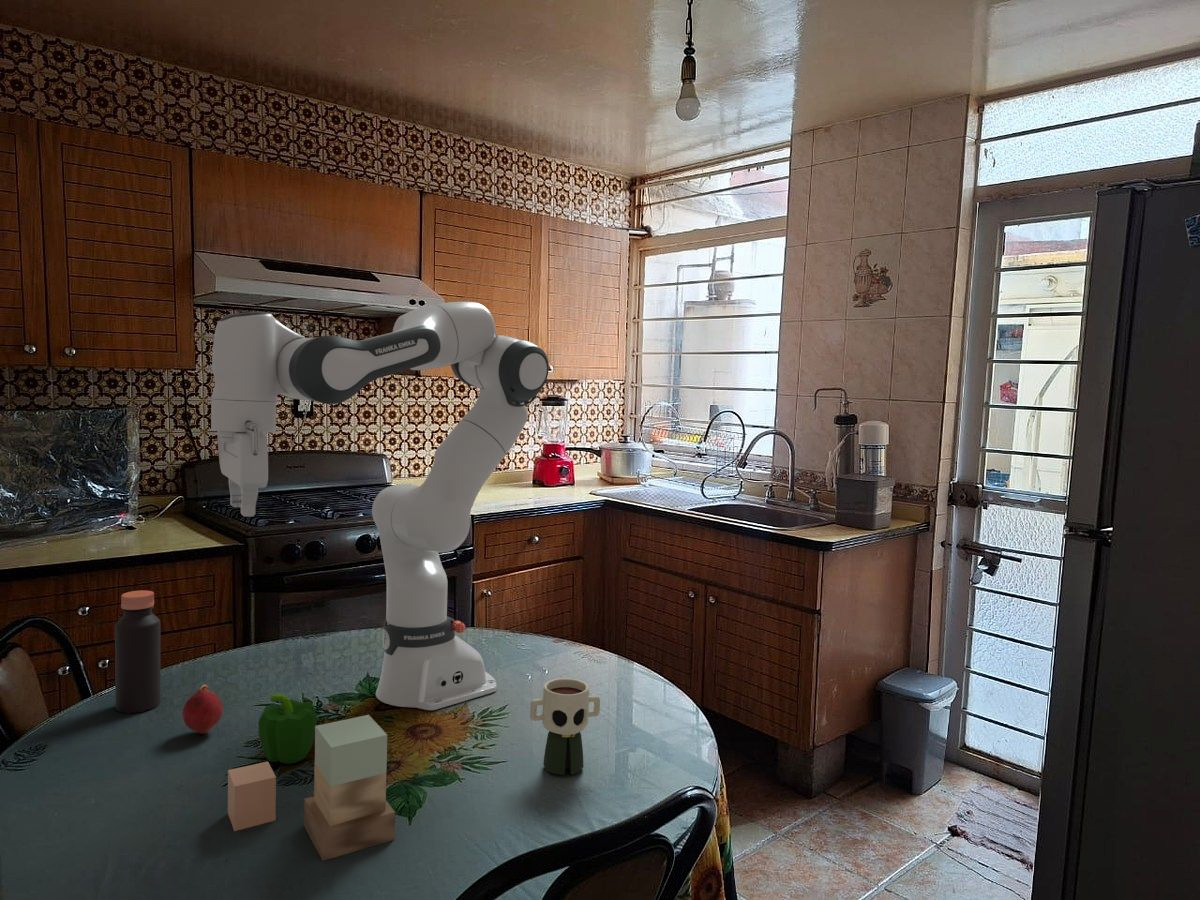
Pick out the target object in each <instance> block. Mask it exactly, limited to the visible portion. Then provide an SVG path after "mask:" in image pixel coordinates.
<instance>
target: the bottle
mask: <svg viewBox="0 0 1200 900" xmlns="http://www.w3.org/2000/svg"><path fill="white" fill-rule="evenodd" d="M120 599H121V602H120V603H121V604H120V608H121V611H122V612H123V615H122V616H121V618H119V619H118V621H116V622H115V625H114V626H115V627H114V633H115V634H114V652H115V653H114V654H115V655H114V656H115V659H114V665H115V667H114V669H115V671H114V672H115V674H114V675H115V679H114V680H115V681H114V682H115V687H114V688H115V710H117V711H118V712H120V713H123V714H136V713H142V712H146V711H149V710H152V709H155V708H156V707H158V706H159V705H160V703H161V698H162V697H161V694H162V693H161V690H162V689H161V687H162V686H161V683H162V682H161V678H162V677H161V619H160V618H159V617H158V616H157V615H156V614H154V613H153V609H154V605H155V592H154V591H152V590H142V589H141V590H132V591H128V592H125V593H122V594H121V596H120Z"/></svg>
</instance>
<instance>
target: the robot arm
mask: <svg viewBox="0 0 1200 900" xmlns="http://www.w3.org/2000/svg"><path fill="white" fill-rule="evenodd" d="M393 325H394V326H393V328H392V332H389V333H384V334H381V335H380V334H379V335H377V336H371V337H369V338H364V339H361V340H360V339H359V340H355V339H351V338H346V337H342V336H338V335H323V336H317V337H305V336H304V335H302V334H299V333H297V332H295V331H294V330H291V329H290V328H288V327H287V326H285V325H284V324H282V323H281V322H280V321H279V320H277V319H276V318H275V317H274V316H273V314H272V313H271V312H266V311H246V312H236V313H229V314H227V315H224V316H223V317H221V318H220V319H219V320H218V322H217V324H216V327H215V330H214V331H215V332H214V338H213V345H212V358H211V360H212V361H211V362H212V363H211V370H212V374H213V378H214V387H213V391H212V394H211V409H210V411H211V412H210V413H211V417H210V419H211V421H210V426H211V427H210V430H211V431H214V432H217V434H216V436H217V451H218V459H219V460H218V461H219V467H220V472H221V474H222V475H223V476H225V477H227V478H228V488H229V493H230V503H229V505H230V506H231V507H233V508H240V514H241V515H242V516H243V517H249V518H250V517H254V516H255V515H256V506H257V500H258V497H259V496H258V495H259V489H265V488H267V486H268V482H269V449H268V439H267V435H268V434H267V433H275V432H276V427H277V425H276V424H277V402H276V401H277V397H278V396H279V395H281V396H284V397H287V398H289V399H293V400H302V401H310V402H311V401H312V402H318V403H321V404H326V405H337V404H342V403H343V402H346V401H348V400H349V399H351V398H352V397H354V396H355V395H356V394H358V393H359V391H361V390H362V389H364V387H366V386H367V385H368V384H369V383H371V382H373V381H375V380H378V379H381V378H383V377H384V378H385V377H387V376H390V375H393V374H396V373H400V372H403V371H407V370H411V371H427V370H434V369H440V368H444V367H447V366H450V367H451V370H452V372H453V375H455V377H456V378H457V379H458V380H460V381H461V382H462V383H463V384H465V385H467V386H470V387H475V388H477V389H479V393H478V396H477V399H476V401H475V404H474V405H473V407H471V408H470V409H469V411H468V412H467V413H465V415H464V416H463V417H462V418H461V419H460V420H459V422H458V423H457V424H456V425H455V426H454V428H453V429H452V430H451V431H450V432H449V433H448V435H447V436H446V437H445V438H444V440H443V441H442V442H441V443H440V445H439V446H438V447H437V448H436V449H435V451H434V455H433V459H434V460H433V464H432V467H431V468H430V471H429V473H428V475H427V477H426V478H425V480H424V481H423V483H422V484H421V485H416V484H412V483H400V484H395V485H390V486H387V487H385V488H384V489H382V490H381V491H379V493H378V494H377V495H376V496H375V498H374V499H373V503H372V507H371V514H372V515H371V516H372V519H373V521H374V523H375V525H376V528H377V531H378V536H379V540H380V546H381V547H380V548H381V553H382V557H383V563H384V564H383V565H384V569H385V579H386V608H385V610H386V612H385V614H386V615H385V618H384V619H383V631H382V649H383V651H384V652H383V661H382V668H381V673H380V676H379V677H380V678H379V682H378V685H377V688H376V691H375V697H376V699H377V700H379V701H380V702H381V703H384V704H386V705H387V704H388V705H390V706H395V707H401V708H417V709H420V710H426V711H436V710H438V709H443V708H445V707H449V706H452V705H455V704H459V703H462V702H466V701H468V700H473V699H475V698H478V697H482V696H486V695H488V694H492V693H494V692H496V691H497V680H496V679H495V678H494V677H493V675H491V674H490V673H489V672H487V671H486V668H485V664H484V658H483V657H482V656H481V654H480V653H479V651H477V650H476V649H475V648H474V647H473V646H471V645H470V644H468V643H467V642H465V641H464V640H463V639H462V638H460V637H459V636H457V635H456V633H457V634H462V633H464V631H465V630H466V624H465V623H464V622H462V621H460V620H456V619H453V618H452V617H451V616H450V617H449V616H448V615H447V614H448V578H447V577H448V576H447V574H446V571H445V568H444V567H443V565H442V562H441V558H440V554H439V553H449V552H452V551H454V550H456V549H458V548H459V547H460V546H462V544H463V543H464V542H465V540H466V539H467V537H468V534H469V532H470V528H471V527H470V526H471V521H470V519H471V518H470V514H471V512H472V511H471V510H472V508H473V506H474V503H475V502H476V499H477V497H478V495H479V492H480V491H481V489H482V487H483V486H484V484H485V483H486V481H487V480H488V479H489V478H490V476H491V475H492V474H493V473H494V471H495V470H496V468H497V467H498V466H499V465H500V463H501V462H502V460H503V459H504V458H506V456H507V454H508V453H509V452H510V450H511V448H512V447H513V446H514V444H515V442H516V441H517V439H518V438H519V436H520V434H521V433H522V431H523V429H524V427H525V425H526V423H527V421H528V416H529V413H528V409H527V407H526V406H528V405H530V404H531V403H533V402H534V401H535V400H536V398H537V395H538V394H540V393H541V391H542V389H543V387H544V385H545V384H546V383H547V380H548V377H549V376H548V375H549V370H550V363H549V358H548V355H547V353H546V352H545V351H544V350H543V349H542V348H541V347H540V346H538V345H536V344H535V343H533V342H531V341H528V340H523V339H518V338H515V337H511V336H507V335H502V334H501V335H498V334H496V323H495V319H494V317H493V315H492V313H491V312H490V310H489V309H488V308H487V307H486V306H484V305H483V304H481V303H479V302H476V301H451V302H450V301H447V302H440V303H435V304H431V305H426V306H422V307H419V308H416V309H412V310H411V311H408V312H407V313H404V314H402V315H399V316H398V318H397V319H396V321H395V322H394V324H393Z"/></svg>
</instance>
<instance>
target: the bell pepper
mask: <svg viewBox="0 0 1200 900" xmlns="http://www.w3.org/2000/svg"><path fill="white" fill-rule="evenodd" d="M269 698H270V701H272V702H275V701H281V702H282V703H280V705H273V704H272V705H266V706H265V707H264V709H263V712H262V713H261V715H260V717H259V719H258V723H257V725H258V728H257V729H258V737H259V741H260V745H261V747H262V751H263V754H264V756H265V758H266V759H267V762H271V763H276V762H280V763H282V764H286V765H289V764H294V763H295V764H296V763H298V762H301V761H303V760H305V758H306V757H307V756H308V754H309V753H310V752H311V750H312V748H313V744H314V742H315V726H317V721H318V719H317V712H316V709H315V706H314V704H313V702H312V701H311V700H310V701H305V702H302V701H299V700H295V699H292V698H289V697H288V696H286V695H285V694H281V693H279V694H278V693H275V694H272V695H270V697H269Z"/></svg>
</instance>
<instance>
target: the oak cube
mask: <svg viewBox="0 0 1200 900" xmlns="http://www.w3.org/2000/svg"><path fill="white" fill-rule="evenodd" d="M313 772H314V774H313V775H314V778H313V780H314V784H313V785H314V786H313V796H314V801H315V803H316V805H317V806H318V808H319V809H320V811H321V813H322V814H323V816H324V817H325V819H326V821H327V822H328V824H329V825H330V826H333V825H336V824H340V823H343V822H347V821H350V820H354V819H357V818H361V817H364V816H368V815H371V814H375V813H378V812H382V811H385V810H386V800H387V794H386V793H387V773H383V774H379V775H375V776H371V777H367V778H364V779H360V780H356V781H352V782H348V783H344V784H340V785H336V786H332V787H331V786H330V785H329V783H328V782H327V781H326V779H325V778H324V776H323V775H322V773H321V772H320V770H319V769H318V767H317V766H316V764H315V763H314V771H313Z"/></svg>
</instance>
